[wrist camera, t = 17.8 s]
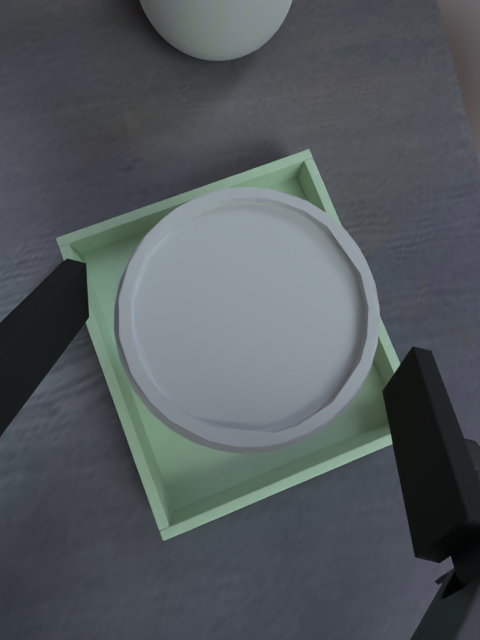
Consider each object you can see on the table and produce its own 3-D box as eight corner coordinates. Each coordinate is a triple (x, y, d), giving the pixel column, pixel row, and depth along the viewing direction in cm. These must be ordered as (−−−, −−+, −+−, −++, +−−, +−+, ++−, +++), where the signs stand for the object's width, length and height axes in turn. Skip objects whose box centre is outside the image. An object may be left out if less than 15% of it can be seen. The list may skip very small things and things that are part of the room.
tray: (73, 250, 25) (55, 237, 22) (300, 170, 26) (309, 148, 24) (169, 521, 23) (162, 541, 21) (406, 421, 25) (428, 429, 22)
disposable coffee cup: (132, 353, 24) (40, 346, 12) (221, 234, 25) (217, 120, 13) (255, 443, 24) (287, 526, 12) (340, 319, 25) (448, 280, 13)
